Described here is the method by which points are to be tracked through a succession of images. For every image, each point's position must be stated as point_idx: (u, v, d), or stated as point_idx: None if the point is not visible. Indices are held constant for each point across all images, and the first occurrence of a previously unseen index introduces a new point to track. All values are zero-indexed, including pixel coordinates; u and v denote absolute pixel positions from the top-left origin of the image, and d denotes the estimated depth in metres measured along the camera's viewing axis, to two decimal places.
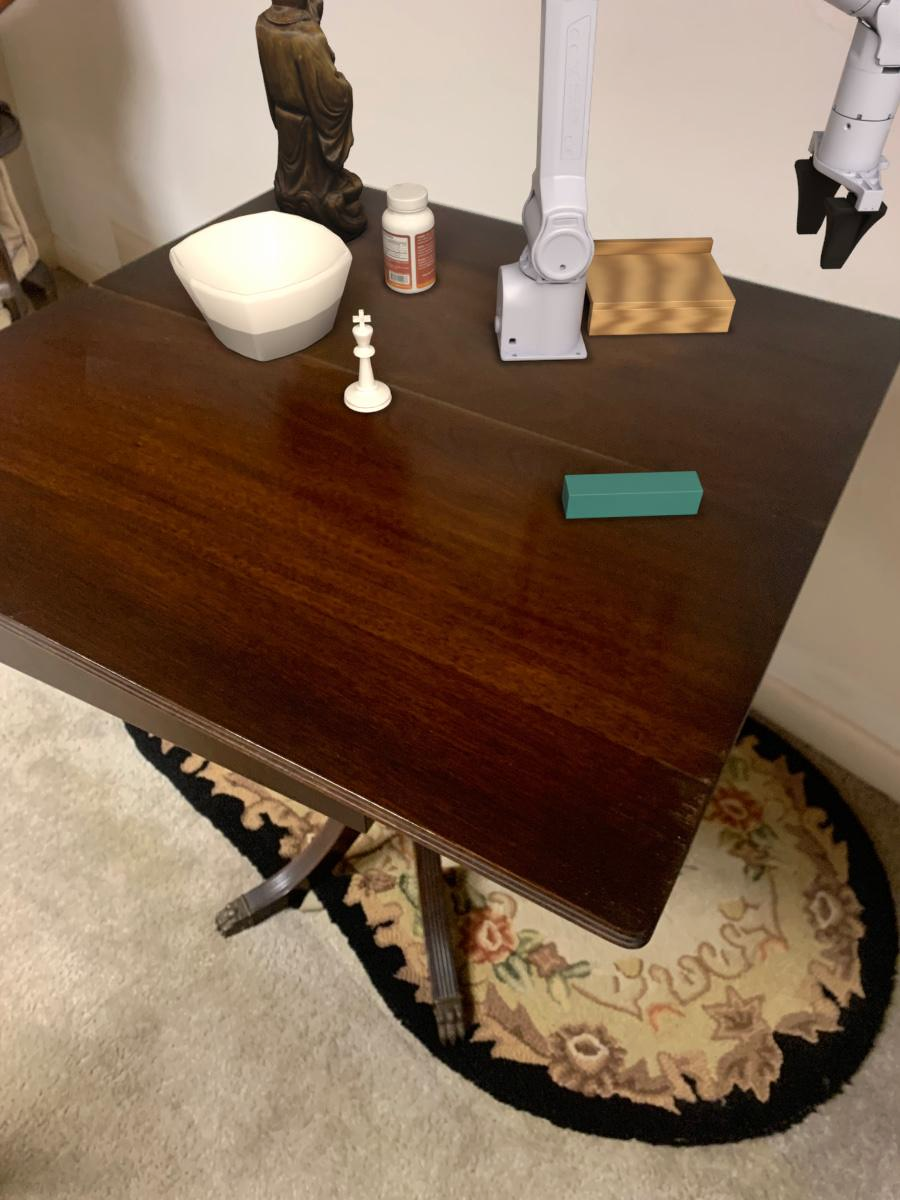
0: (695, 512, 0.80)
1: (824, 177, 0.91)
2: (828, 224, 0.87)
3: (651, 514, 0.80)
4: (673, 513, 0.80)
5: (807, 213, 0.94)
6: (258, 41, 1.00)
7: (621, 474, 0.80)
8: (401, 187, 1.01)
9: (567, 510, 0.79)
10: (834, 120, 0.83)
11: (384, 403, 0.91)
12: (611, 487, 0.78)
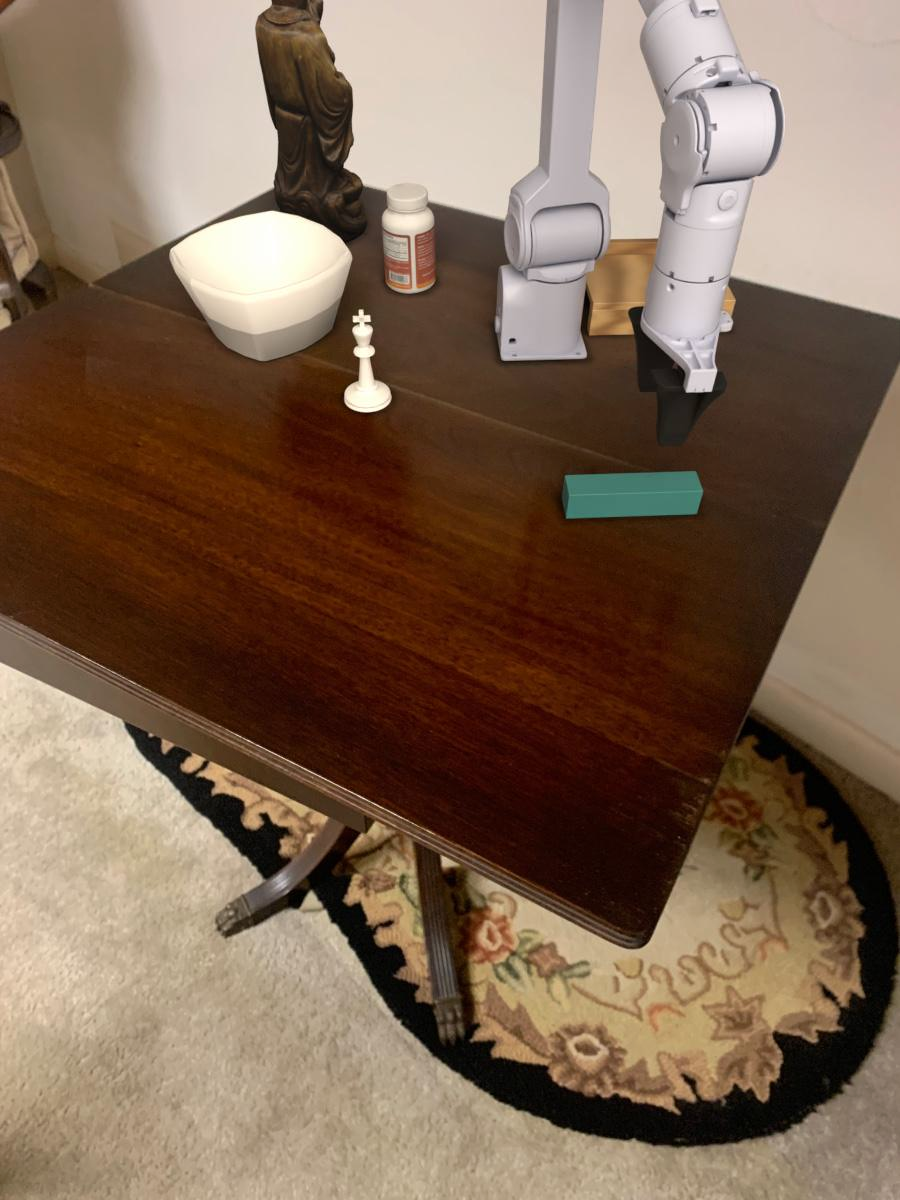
0: (695, 512, 0.80)
1: None
2: (658, 399, 0.70)
3: (651, 514, 0.80)
4: (673, 513, 0.80)
5: (648, 369, 0.77)
6: (258, 41, 1.00)
7: (621, 474, 0.80)
8: (401, 187, 1.01)
9: (567, 510, 0.79)
10: (656, 277, 0.66)
11: (384, 403, 0.91)
12: (611, 487, 0.78)
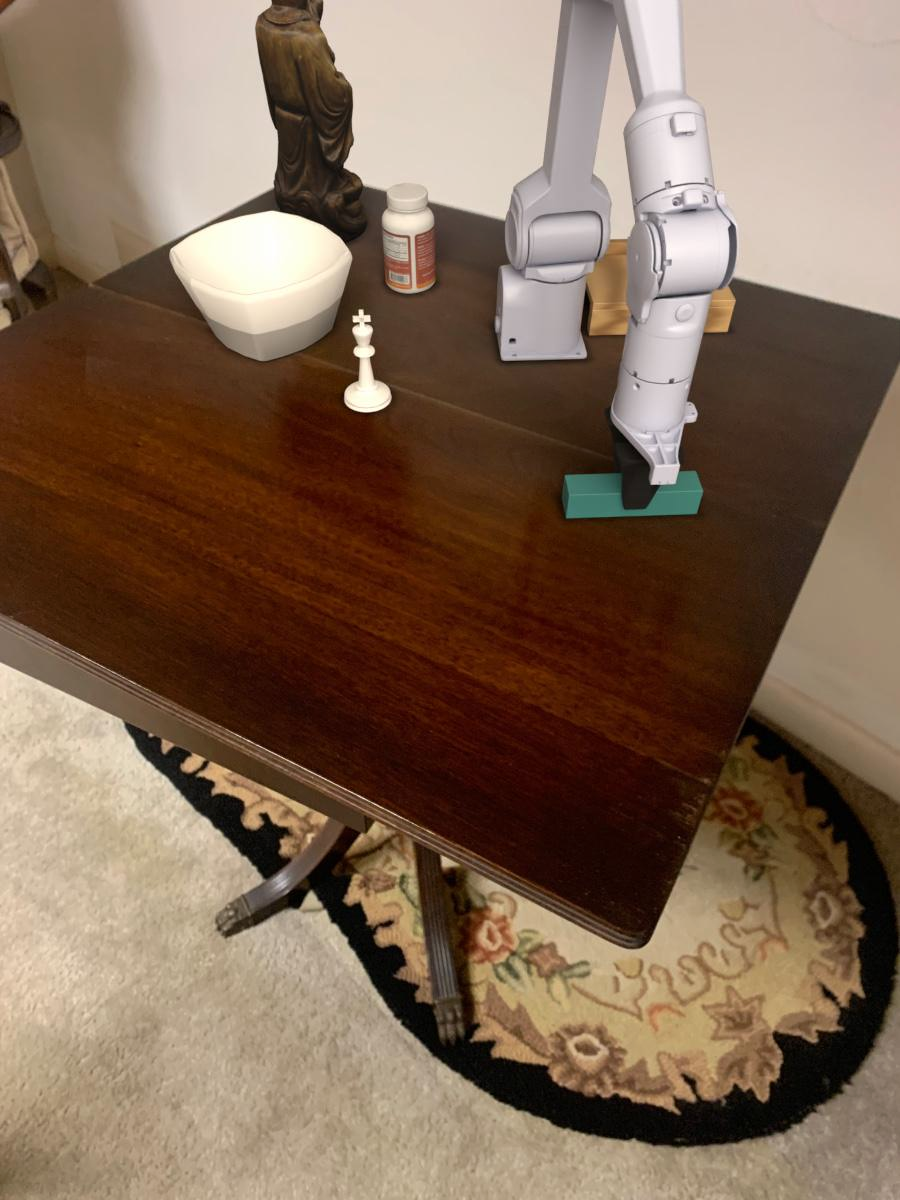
0: (695, 512, 0.80)
1: None
2: (621, 469, 0.75)
3: (651, 514, 0.80)
4: (673, 513, 0.80)
5: None
6: (258, 41, 1.00)
7: (621, 474, 0.80)
8: (401, 187, 1.01)
9: (567, 510, 0.79)
10: (623, 375, 0.70)
11: (384, 403, 0.91)
12: (611, 487, 0.78)
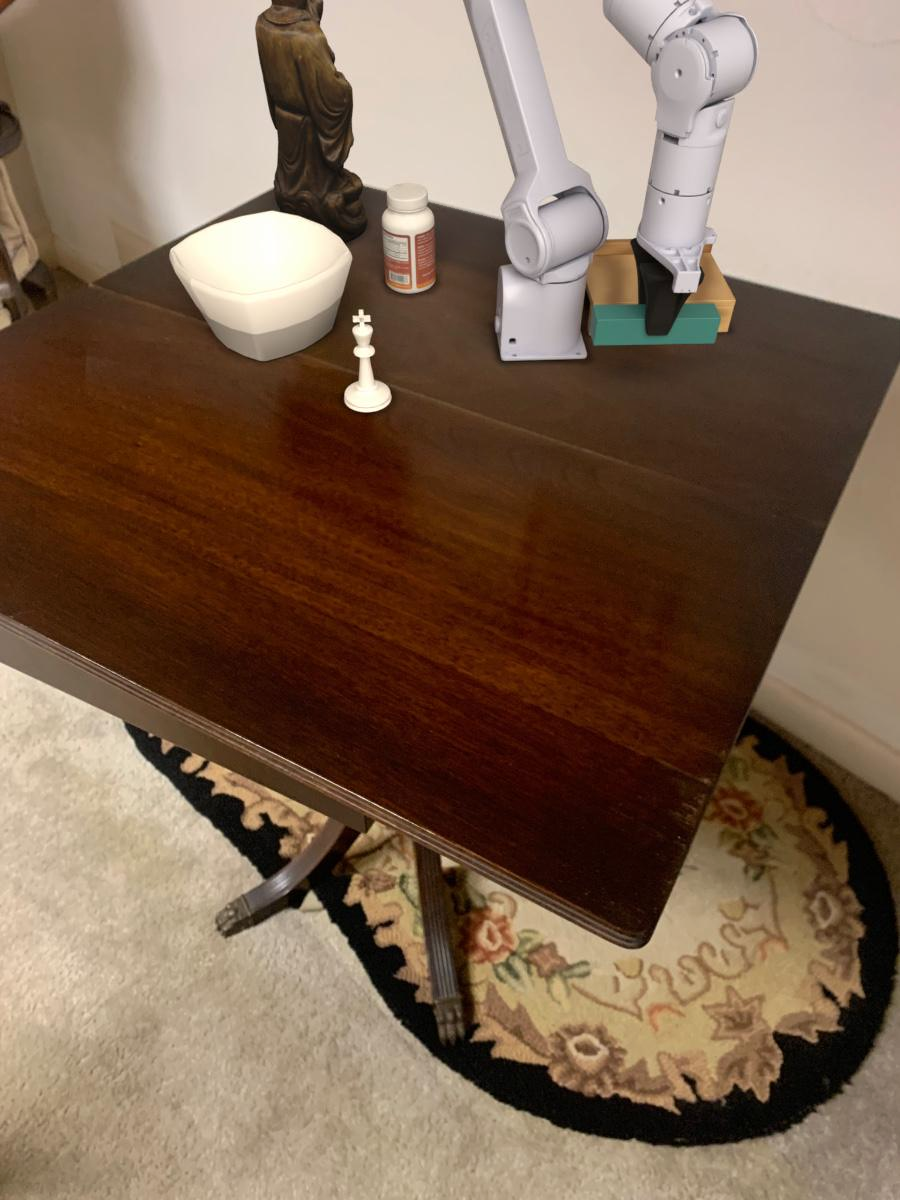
0: (713, 341, 0.87)
1: None
2: (646, 290, 0.81)
3: (672, 342, 0.86)
4: (693, 342, 0.86)
5: None
6: (258, 41, 1.00)
7: (645, 304, 0.86)
8: (401, 187, 1.01)
9: (595, 336, 0.86)
10: (649, 193, 0.76)
11: (384, 403, 0.91)
12: (636, 314, 0.85)
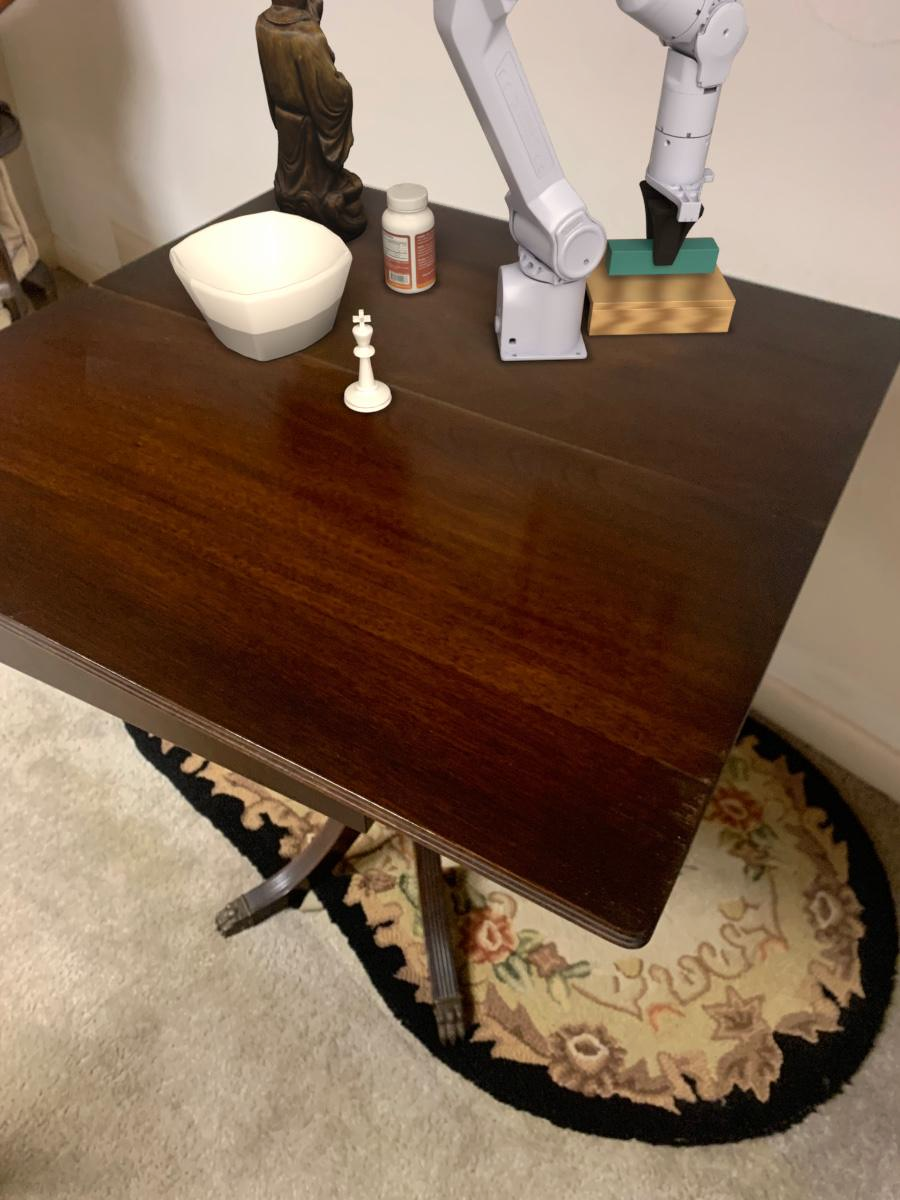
0: (713, 271, 0.99)
1: (666, 197, 0.96)
2: (653, 224, 0.94)
3: (677, 272, 0.99)
4: (695, 271, 0.99)
5: None
6: (258, 41, 1.00)
7: None
8: (401, 187, 1.01)
9: (610, 267, 0.98)
10: (656, 137, 0.89)
11: (384, 403, 0.91)
12: (645, 247, 0.98)
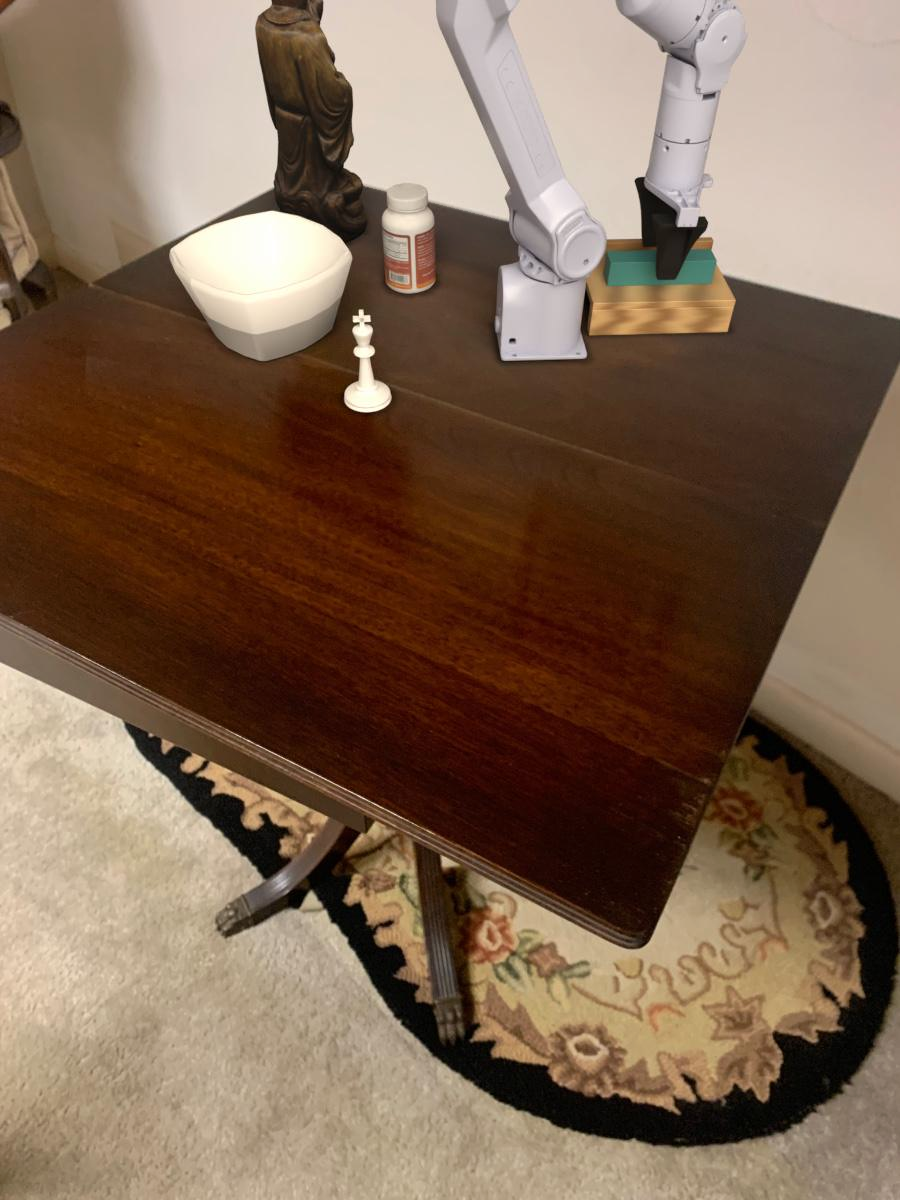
0: (710, 282, 1.00)
1: None
2: (657, 238, 0.93)
3: (675, 283, 1.00)
4: (692, 282, 1.00)
5: (649, 227, 1.00)
6: (258, 41, 1.00)
7: (651, 250, 1.00)
8: (401, 187, 1.01)
9: (608, 278, 0.99)
10: (655, 142, 0.90)
11: (384, 403, 0.91)
12: (643, 258, 0.99)
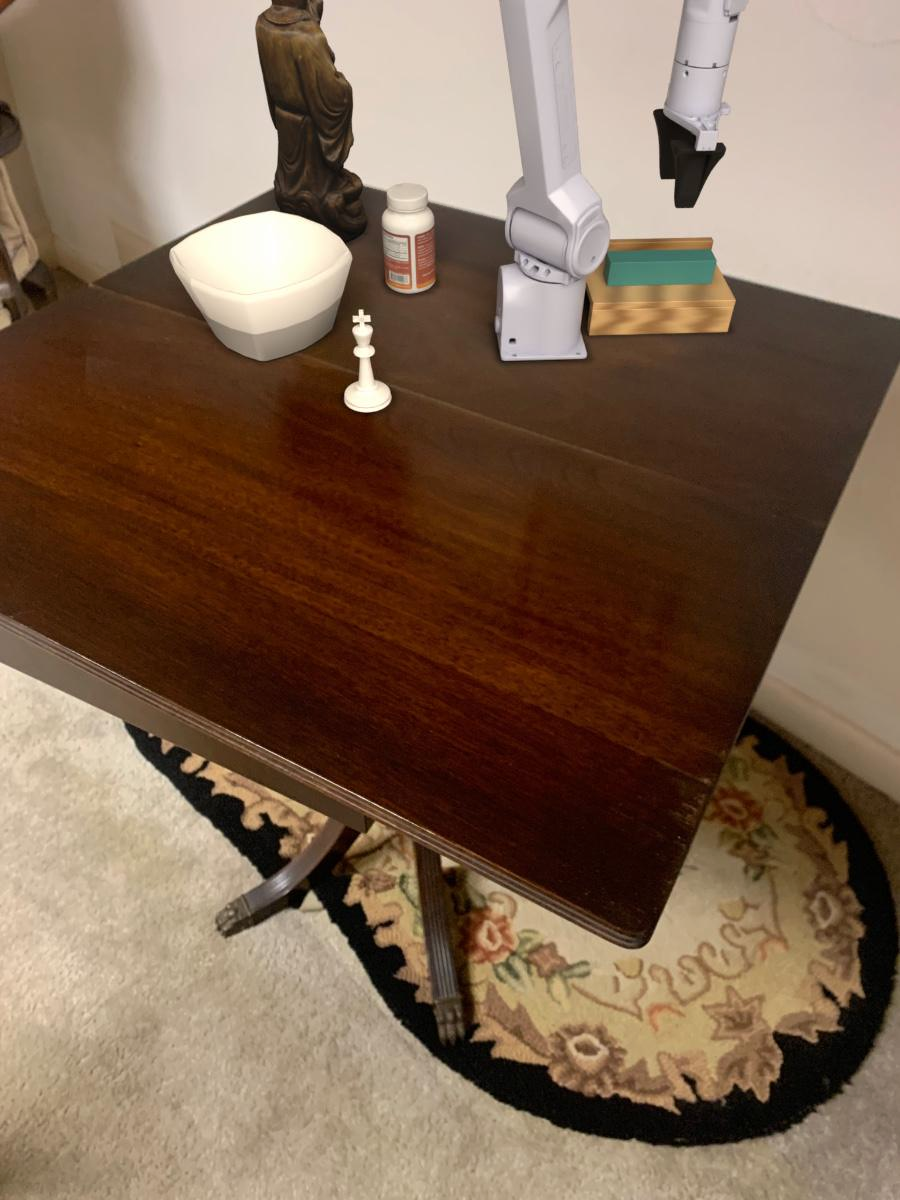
0: (710, 282, 1.00)
1: (679, 125, 1.00)
2: (676, 165, 0.95)
3: (675, 283, 1.00)
4: (692, 282, 1.00)
5: (667, 159, 1.03)
6: (258, 41, 1.00)
7: (651, 250, 1.00)
8: (401, 187, 1.01)
9: (608, 278, 0.99)
10: (675, 68, 0.92)
11: (384, 403, 0.91)
12: (643, 258, 0.99)
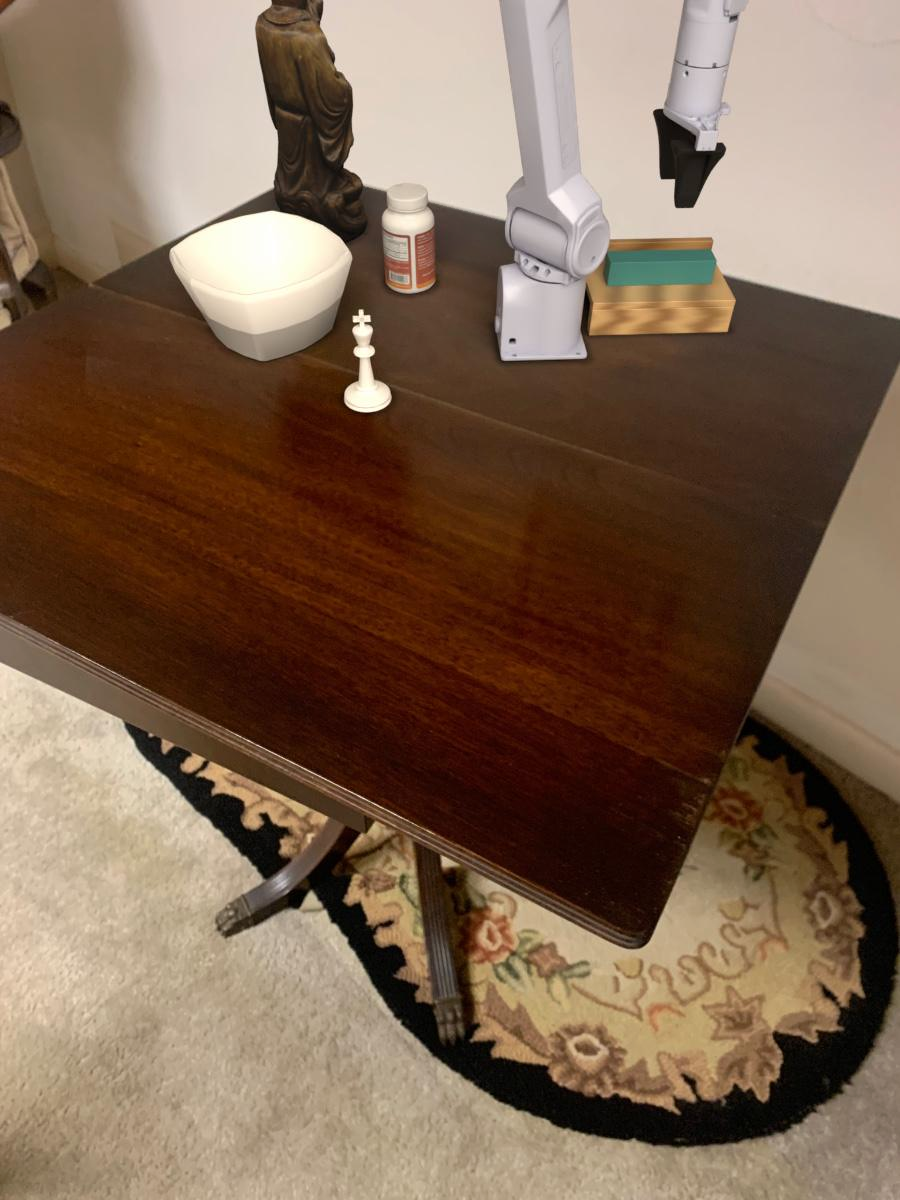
0: (710, 282, 1.00)
1: (679, 125, 1.00)
2: (676, 165, 0.95)
3: (675, 283, 1.00)
4: (692, 282, 1.00)
5: (667, 159, 1.03)
6: (258, 41, 1.00)
7: (651, 250, 1.00)
8: (401, 187, 1.01)
9: (608, 278, 0.99)
10: (675, 68, 0.92)
11: (384, 403, 0.91)
12: (643, 258, 0.99)
